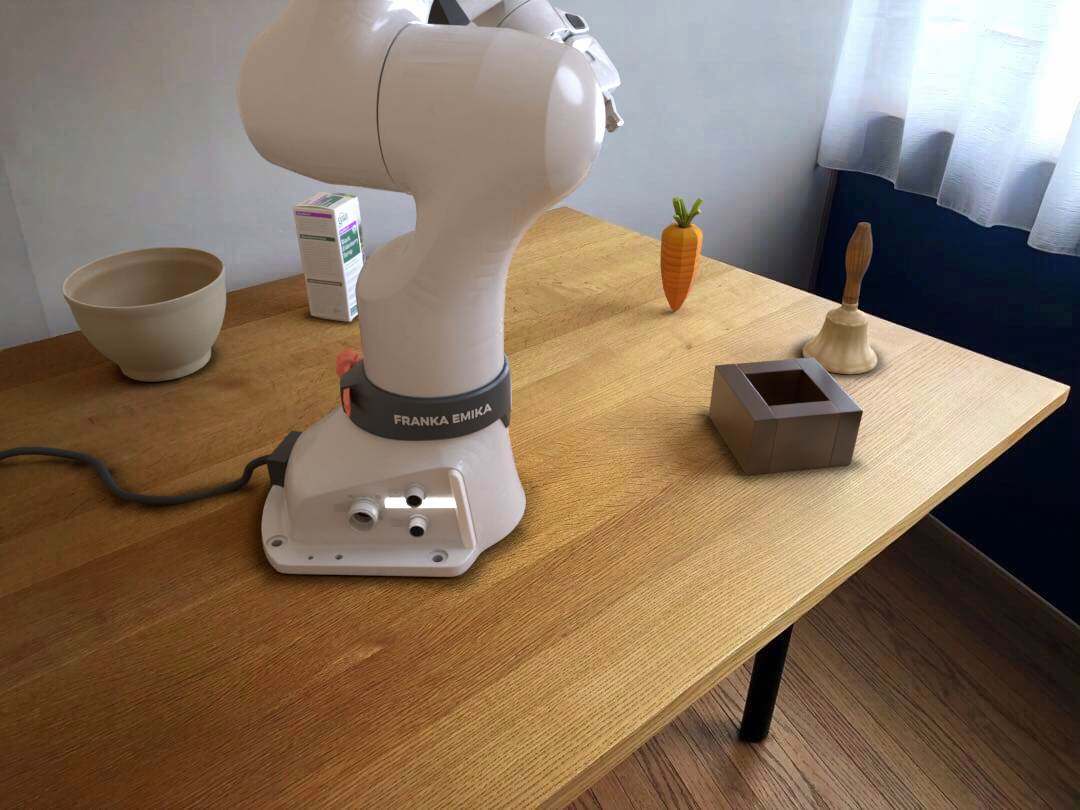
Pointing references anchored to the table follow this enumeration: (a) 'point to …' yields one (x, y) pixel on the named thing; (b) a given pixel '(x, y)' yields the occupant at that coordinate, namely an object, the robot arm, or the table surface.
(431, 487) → the robot arm
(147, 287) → the planter bowl
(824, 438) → the stand
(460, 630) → the table surface
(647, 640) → the table surface
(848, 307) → the hand bell
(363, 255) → the syrup box
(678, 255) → the carrot
